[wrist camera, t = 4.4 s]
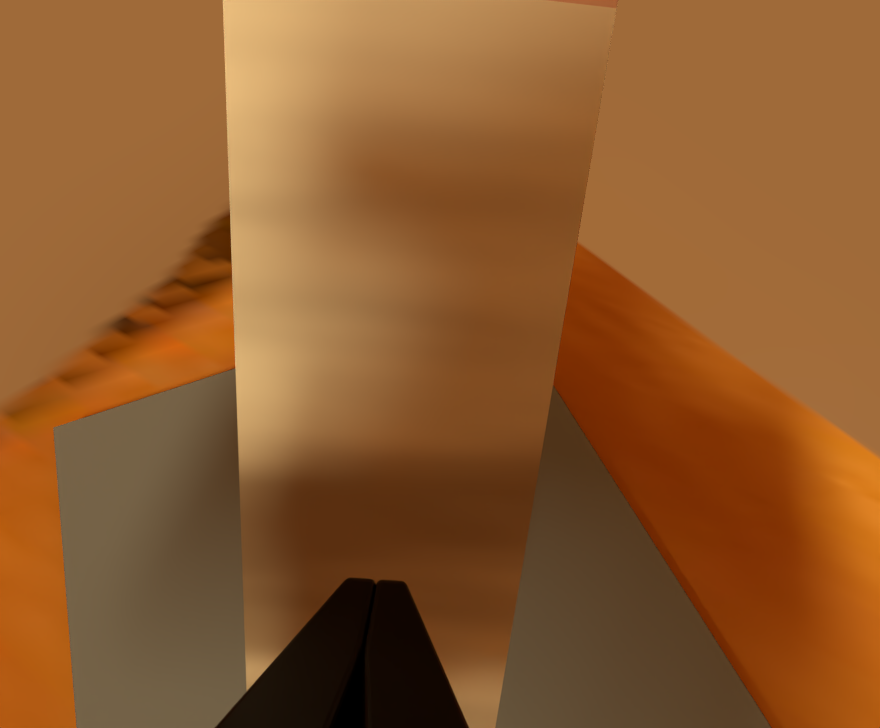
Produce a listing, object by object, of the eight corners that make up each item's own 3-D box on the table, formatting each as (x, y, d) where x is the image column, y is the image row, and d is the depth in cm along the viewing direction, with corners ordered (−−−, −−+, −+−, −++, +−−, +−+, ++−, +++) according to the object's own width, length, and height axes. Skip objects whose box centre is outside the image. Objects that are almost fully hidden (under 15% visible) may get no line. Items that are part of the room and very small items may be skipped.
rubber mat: (171, 1619, 6) (151, 1705, 6) (65, 435, 15) (53, 427, 14) (878, 918, 11) (902, 934, 10) (487, 295, 19) (489, 285, 18)
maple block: (492, 739, 9) (623, -34, 5) (247, 726, 9) (220, -81, 5) (473, 569, 13) (538, 83, 10) (310, 558, 13) (318, 59, 9)
